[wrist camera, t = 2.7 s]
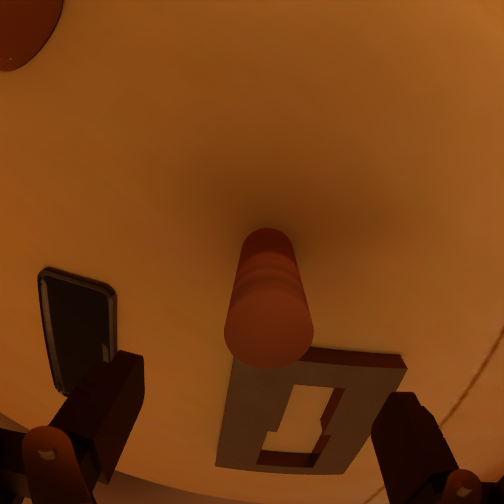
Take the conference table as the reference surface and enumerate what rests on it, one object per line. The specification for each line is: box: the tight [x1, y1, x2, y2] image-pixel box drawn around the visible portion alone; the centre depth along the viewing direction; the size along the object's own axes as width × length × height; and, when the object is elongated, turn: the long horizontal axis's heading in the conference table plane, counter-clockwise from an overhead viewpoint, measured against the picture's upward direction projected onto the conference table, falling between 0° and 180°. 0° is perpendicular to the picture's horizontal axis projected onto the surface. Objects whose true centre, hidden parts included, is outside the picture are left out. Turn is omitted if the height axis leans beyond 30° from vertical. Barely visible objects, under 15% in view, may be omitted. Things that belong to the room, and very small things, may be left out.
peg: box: [224, 229, 314, 369], centre depth 17 cm, size 4×4×10 cm
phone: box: [37, 267, 117, 397], centre depth 25 cm, size 8×1×15 cm
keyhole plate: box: [215, 347, 408, 475], centre depth 25 cm, size 16×14×2 cm
